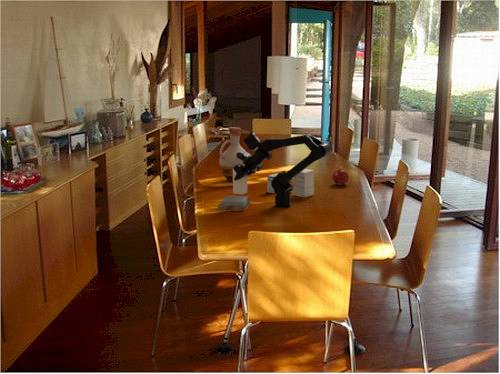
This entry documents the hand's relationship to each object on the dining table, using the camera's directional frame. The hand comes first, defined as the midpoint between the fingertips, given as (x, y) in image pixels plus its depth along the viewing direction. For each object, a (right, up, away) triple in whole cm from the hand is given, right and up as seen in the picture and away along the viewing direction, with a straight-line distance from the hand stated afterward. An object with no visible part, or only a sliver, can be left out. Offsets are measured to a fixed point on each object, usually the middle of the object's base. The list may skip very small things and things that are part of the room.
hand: (237, 179), depth 257 cm
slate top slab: (-1, -11, -11) cm, 15 cm away
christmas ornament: (+54, -3, +30) cm, 62 cm away
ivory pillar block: (+1, -7, +1) cm, 7 cm away
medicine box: (+19, -6, +17) cm, 26 cm away
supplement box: (+33, -8, +9) cm, 35 cm away
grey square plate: (-1, -14, -11) cm, 17 cm away
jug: (-3, -1, +40) cm, 40 cm away
